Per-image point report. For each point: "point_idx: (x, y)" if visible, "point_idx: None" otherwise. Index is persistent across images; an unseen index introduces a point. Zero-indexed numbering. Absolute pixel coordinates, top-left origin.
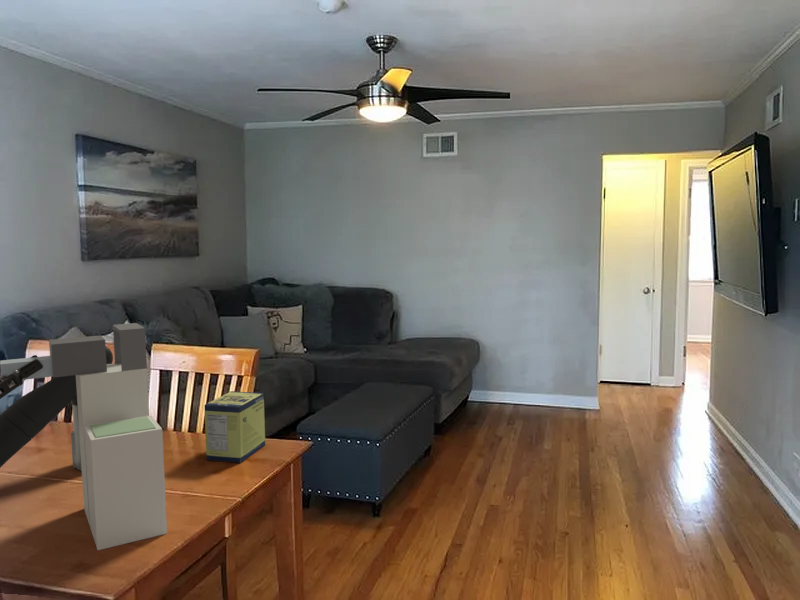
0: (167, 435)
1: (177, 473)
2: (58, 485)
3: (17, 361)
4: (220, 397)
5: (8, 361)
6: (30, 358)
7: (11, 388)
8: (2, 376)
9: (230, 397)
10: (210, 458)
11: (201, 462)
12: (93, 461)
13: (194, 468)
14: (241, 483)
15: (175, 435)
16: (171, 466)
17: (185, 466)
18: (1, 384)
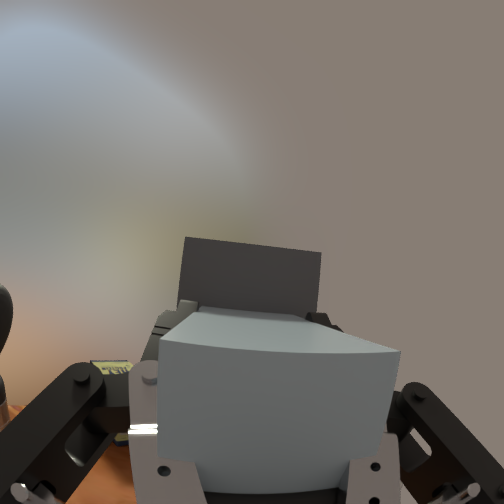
0: (9, 412)
1: (130, 475)
2: None
3: (300, 330)
4: (101, 370)
5: (271, 337)
6: (223, 315)
7: (428, 456)
8: (395, 443)
9: (113, 369)
10: (122, 443)
11: (118, 451)
12: (402, 483)
13: (130, 461)
14: None
15: (17, 412)
16: (100, 467)
17: (115, 462)
18: (474, 444)
